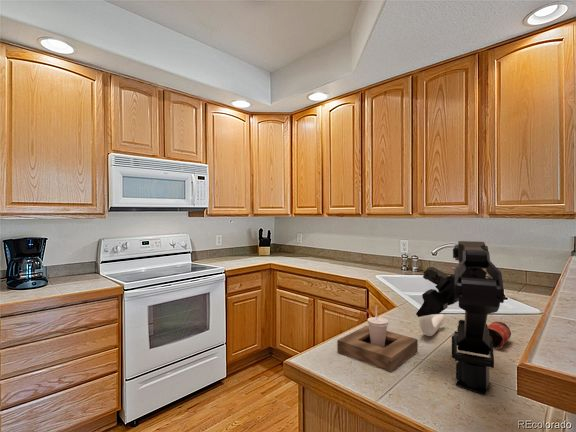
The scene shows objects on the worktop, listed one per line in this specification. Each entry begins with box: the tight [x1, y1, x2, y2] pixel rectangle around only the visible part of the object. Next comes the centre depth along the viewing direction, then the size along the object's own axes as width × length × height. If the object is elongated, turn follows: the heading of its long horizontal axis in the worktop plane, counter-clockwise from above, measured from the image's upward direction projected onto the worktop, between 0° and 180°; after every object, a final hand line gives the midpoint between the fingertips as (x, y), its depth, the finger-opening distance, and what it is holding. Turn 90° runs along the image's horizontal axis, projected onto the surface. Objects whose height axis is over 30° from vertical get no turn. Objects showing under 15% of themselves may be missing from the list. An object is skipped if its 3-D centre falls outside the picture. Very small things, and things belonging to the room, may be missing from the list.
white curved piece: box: [419, 313, 446, 337], centre depth 113 cm, size 5×19×15 cm, turn 141°
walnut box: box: [336, 325, 419, 373], centre depth 98 cm, size 18×18×4 cm
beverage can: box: [487, 321, 512, 351], centre depth 104 cm, size 7×12×7 cm, turn 132°
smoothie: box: [366, 305, 389, 348], centre depth 98 cm, size 6×6×14 cm
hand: (423, 312), depth 95 cm, fingers open, 9 cm apart
